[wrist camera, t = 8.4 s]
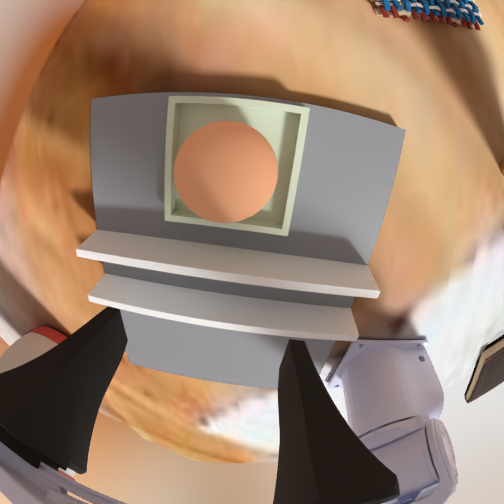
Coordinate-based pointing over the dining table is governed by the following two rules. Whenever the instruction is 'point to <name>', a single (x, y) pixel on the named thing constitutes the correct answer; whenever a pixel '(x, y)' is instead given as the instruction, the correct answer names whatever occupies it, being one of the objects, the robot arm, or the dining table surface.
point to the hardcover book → (487, 370)
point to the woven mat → (432, 11)
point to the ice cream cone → (502, 167)
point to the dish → (261, 119)
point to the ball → (225, 172)
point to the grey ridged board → (235, 246)
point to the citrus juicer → (33, 356)
